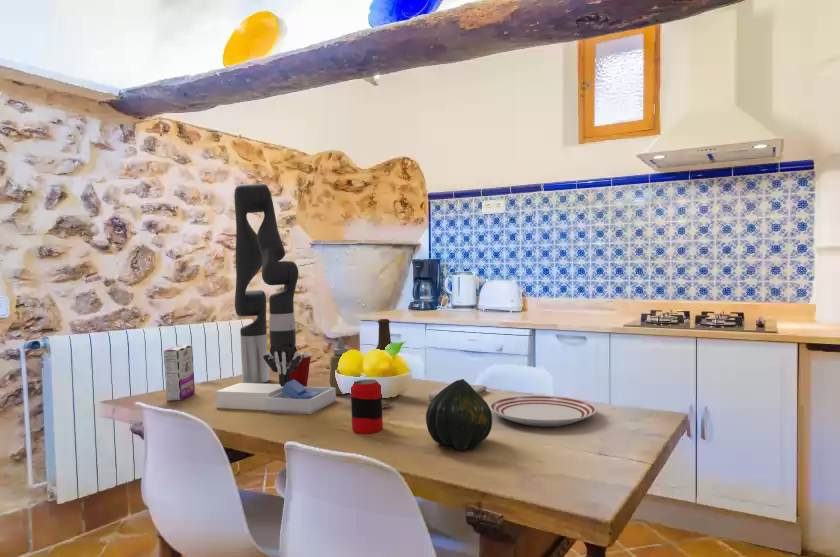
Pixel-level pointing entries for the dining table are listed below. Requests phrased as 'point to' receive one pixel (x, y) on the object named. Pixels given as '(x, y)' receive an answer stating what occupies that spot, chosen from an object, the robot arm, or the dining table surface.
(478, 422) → the squash
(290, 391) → the tile
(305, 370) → the plastic cup
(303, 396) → the tile
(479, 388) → the washcloth
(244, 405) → the white flat block
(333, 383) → the squeeze bottle
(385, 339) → the beer bottle
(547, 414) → the dinner plate
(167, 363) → the candy bar box
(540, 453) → the dining table surface
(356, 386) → the soda can
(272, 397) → the box
